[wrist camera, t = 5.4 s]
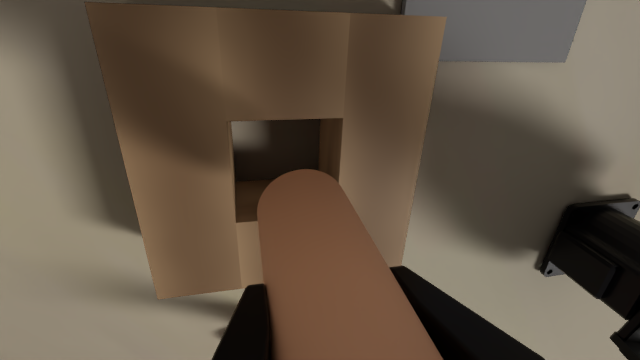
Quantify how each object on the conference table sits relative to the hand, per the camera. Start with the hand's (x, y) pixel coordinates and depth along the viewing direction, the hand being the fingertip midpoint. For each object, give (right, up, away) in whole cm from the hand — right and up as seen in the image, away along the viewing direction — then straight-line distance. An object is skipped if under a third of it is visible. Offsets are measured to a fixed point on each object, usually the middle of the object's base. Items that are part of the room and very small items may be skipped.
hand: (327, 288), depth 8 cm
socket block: (-2, +5, +9) cm, 11 cm away
